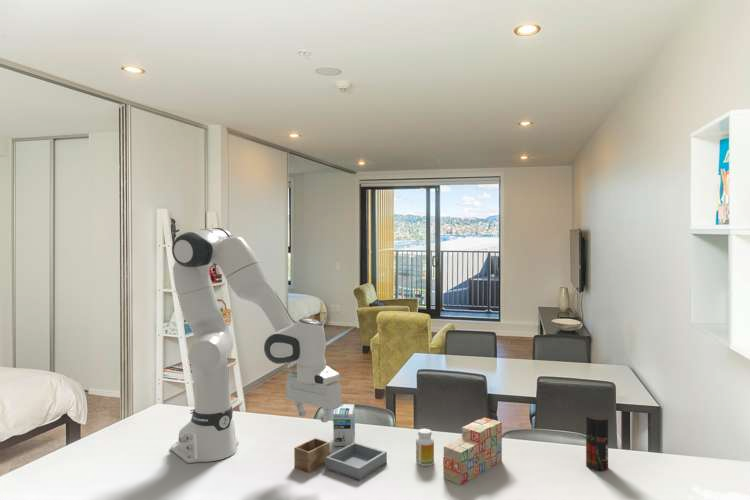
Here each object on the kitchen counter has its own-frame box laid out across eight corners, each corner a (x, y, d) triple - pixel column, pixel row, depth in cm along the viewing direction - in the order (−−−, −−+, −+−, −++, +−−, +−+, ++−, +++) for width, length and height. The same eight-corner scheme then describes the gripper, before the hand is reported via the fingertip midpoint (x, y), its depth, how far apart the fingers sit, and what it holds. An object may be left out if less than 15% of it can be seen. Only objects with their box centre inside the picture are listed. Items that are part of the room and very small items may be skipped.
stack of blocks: (461, 486, 135) (460, 441, 135) (442, 478, 140) (442, 435, 139) (502, 461, 150) (502, 421, 150) (484, 455, 155) (484, 416, 154)
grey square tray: (325, 469, 146) (325, 457, 146) (354, 453, 157) (354, 442, 156) (359, 481, 138) (358, 468, 138) (386, 463, 149) (386, 451, 149)
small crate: (309, 473, 143) (308, 452, 143) (294, 467, 147) (294, 447, 147) (329, 461, 150) (329, 442, 150) (315, 457, 154) (315, 437, 154)
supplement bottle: (437, 462, 150) (437, 430, 149) (426, 468, 146) (426, 435, 145) (423, 457, 153) (423, 426, 153) (412, 462, 149) (412, 431, 149)
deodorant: (586, 460, 150) (586, 411, 150) (608, 464, 147) (608, 414, 147) (585, 469, 144) (585, 418, 144) (608, 473, 142) (607, 421, 142)
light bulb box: (353, 446, 162) (353, 414, 161) (333, 446, 162) (332, 414, 162) (355, 434, 172) (355, 403, 172) (336, 434, 172) (335, 403, 172)
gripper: (280, 370, 152) (281, 415, 152) (329, 380, 139) (331, 428, 140) (294, 366, 157) (296, 409, 157) (344, 375, 145) (345, 421, 145)
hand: (313, 418), depth 148 cm, fingers open, 8 cm apart
